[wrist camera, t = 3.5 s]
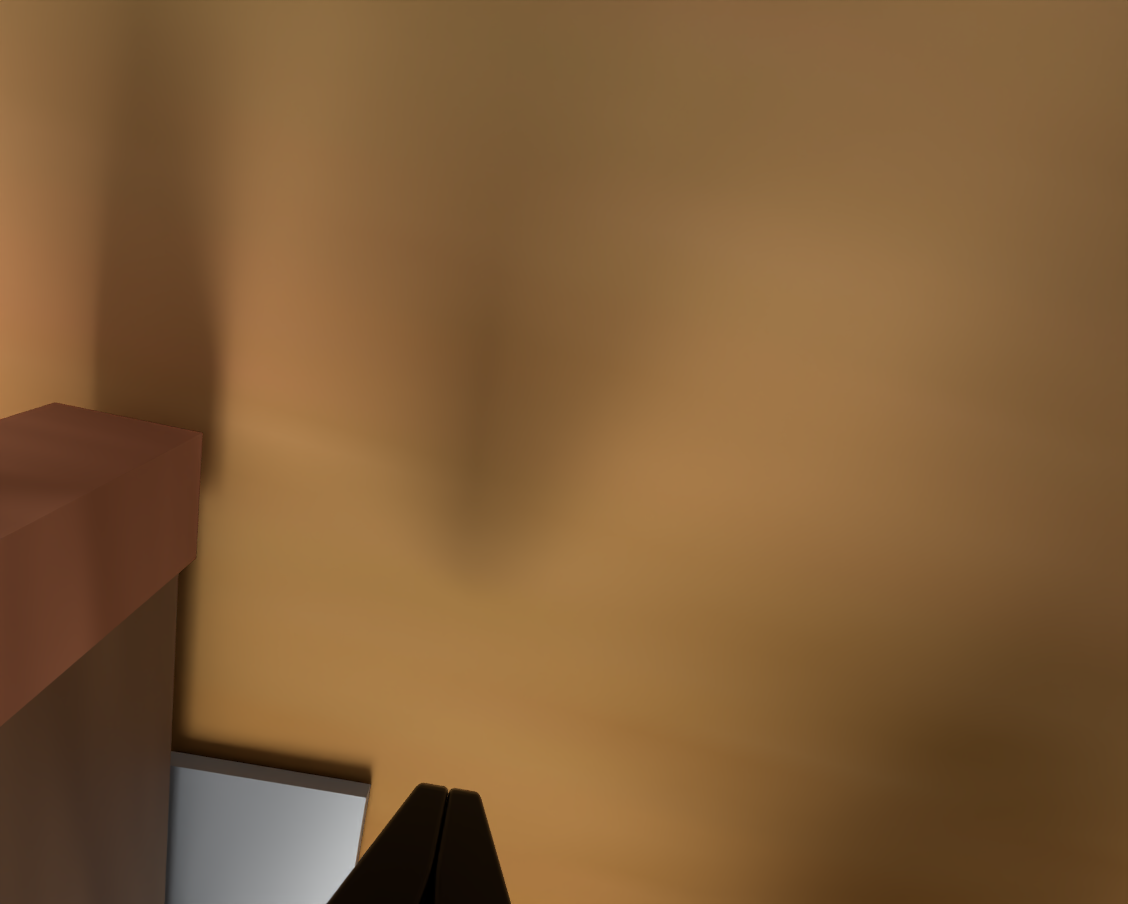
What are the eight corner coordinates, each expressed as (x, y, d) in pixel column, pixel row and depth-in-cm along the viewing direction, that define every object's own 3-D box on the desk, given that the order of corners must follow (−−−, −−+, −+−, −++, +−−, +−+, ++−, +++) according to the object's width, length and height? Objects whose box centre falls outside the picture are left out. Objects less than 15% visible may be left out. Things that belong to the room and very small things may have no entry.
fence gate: (202, 432, 9) (-131, 606, 5) (175, 949, 12) (-35, 1337, 8) (54, 402, 9) (-432, 553, 4) (67, 933, 12) (-211, 1323, 8)
